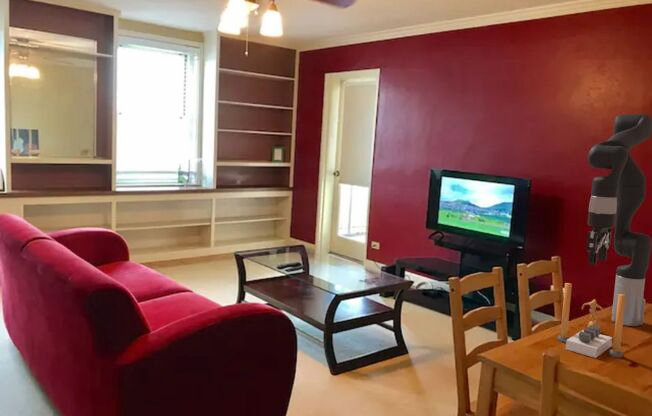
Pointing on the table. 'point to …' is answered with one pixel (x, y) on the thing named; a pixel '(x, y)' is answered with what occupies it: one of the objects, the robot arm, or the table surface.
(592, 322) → the figurine
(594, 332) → the paddle mid
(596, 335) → the paddle
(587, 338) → the paddle
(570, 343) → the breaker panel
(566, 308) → the post
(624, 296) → the post
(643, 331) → the table surface
